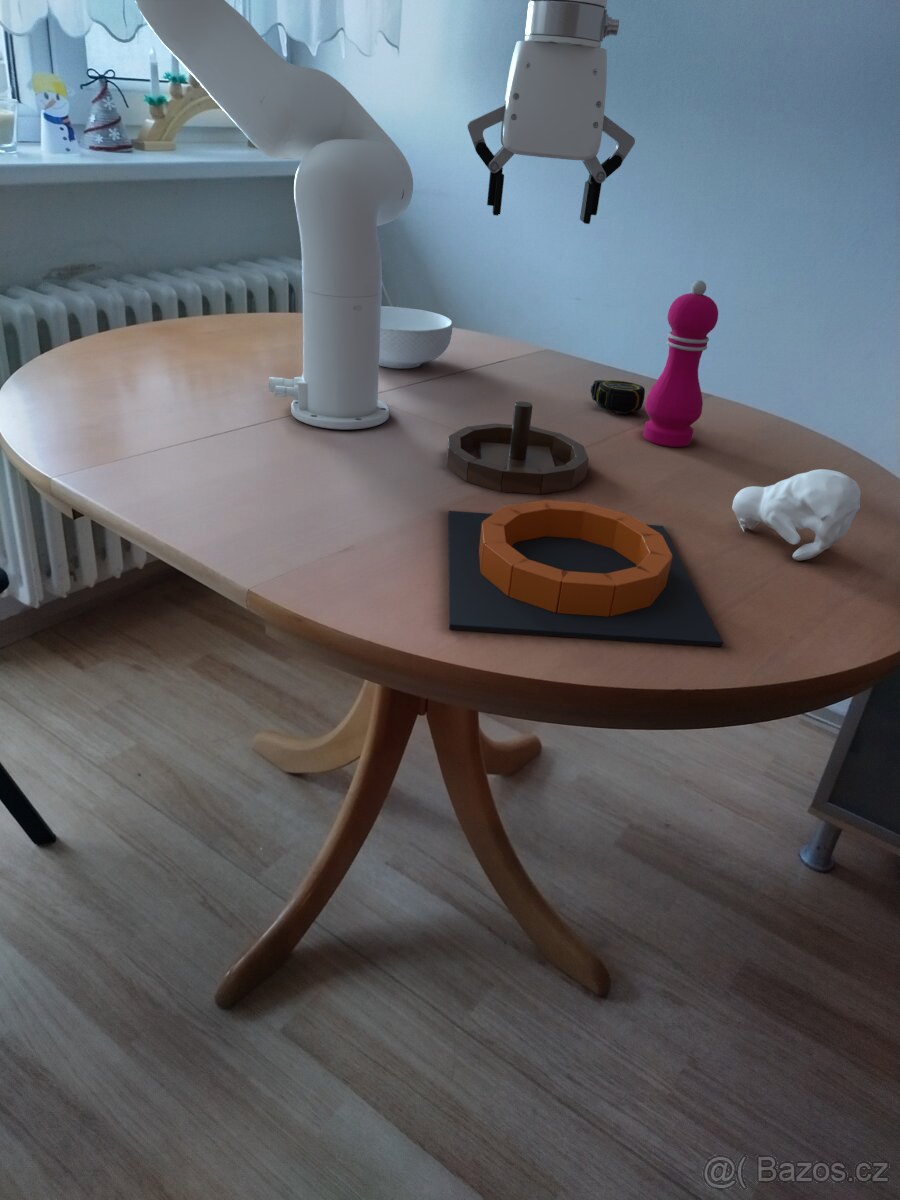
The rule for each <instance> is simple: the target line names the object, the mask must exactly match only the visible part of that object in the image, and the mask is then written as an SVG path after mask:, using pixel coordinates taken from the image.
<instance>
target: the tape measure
mask: <svg viewBox="0 0 900 1200" xmlns="http://www.w3.org/2000/svg"><path fill="white" fill-rule="evenodd" d="M590 394H591V399H592V400H593V402H596V405H597V406H599V408H602V409H604V410H607V411H611V412H615V413H616V414H629V413H634V412H638V411H640V410H641V409H642V408H643V404H644V402H645V395H646V390H645V387H644V386H643V385H641V384H637V383H634V382H629V381H623V380H605V379H604V380H603V379H597V380H596V379H595V380H594V381H593V384H592V385H591V389H590Z"/></svg>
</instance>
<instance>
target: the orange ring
mask: <svg viewBox="0 0 900 1200" xmlns="http://www.w3.org/2000/svg"><path fill="white" fill-rule="evenodd" d="M491 514H492V515H491V516H490V517H488V518H487V519H485V520H484V521H483V522H482V527H481V536H480V545H479V559H480V572H481V574H482V575H483V576H484V577H486V578H487V579H488V580H489V581H490V582H492V583H493V584H494V585H495V586H496V587H497V588H499V589H500V590H501V591H502V592H503V593H505V594H506V595H507V596H510V597H511V598H513V599H516V600H519V601H522V602H525V603H528V604H531V605H534V606H537V607H540V608H543V609H546V610H549V611H551V612H554V613H556V612H557V613H560V614H575V615H590V616H605V617H609V616H615V615H619V614H622V613H626V612H630V611H634V610H638V609H642V608H645V607H649V606H650V605H651V604H652V603H653V602H654V601H655V599H656V598H657V597H658V595H659V594H660V593H661V592H662V590H663V589H664V588H665V586H666V583H667V579H668V574H669V570H670V566H671V562H672V557H673V556H672V554H671V552H670V550H669V548H668V546H667V544H666V542H665V540H664V538H663V536H662V535H661V534H660V533H659V532H657V531H655V530H654V529H652V528H650V527H649V526H647V525H648V524H645V523H644V522H643V521H640V520H639V519H637V518H635V517H633V516H632V515H630V514H627V513H623V512H621V511H620V512H619V511H617V510H613V509H609V508H606V507H603V506H598V505H595V504H591V503H587V502H577V501H576V502H575V501H564V500H563V501H561V500H546V499H542V500H541V499H540V500H534V501H528V502H522V503H516V504H511V505H505V506H502V507H501V508H500V509H498V510H497V511H495V512H494V513H491ZM544 536H546V537H561V538H575V539H582V540H585V541H588V542H592V543H595V544H598V545H602V546H605V547H608V548H612V549H614V550H615V551H617V552H618V553H620V554H621V555H623V556H624V557H626V558H627V559H629V560H630V561H632V562H633V563H635V564H636V566H637V567H633V568H629V569H624V570H620V571H616V572H611V573H607V574H602V573H587V572H572V571H563V570H560V569H557V568H554V567H551V566H548V565H545V564H541V563H538V562H535V561H532V560H529V559H527V558H526V557H525V556H523V555H522V554H521V553H519V552H518V551H517V550H515V549H514V548H513V547H511V546H512V545H513V544H515V543H516V542H519V541H524V540H529V539H534V538H539V537H544Z"/></svg>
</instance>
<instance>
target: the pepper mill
mask: <svg viewBox="0 0 900 1200" xmlns="http://www.w3.org/2000/svg"><path fill="white" fill-rule="evenodd" d="M690 291H691V292H689V293H685V294H682V295H680V296H678V297H677V298H675V300H673V301H672V302H671V304H670V307H669V308H668V312H667V323H668V325H669V326H670V328H671V331H669V332H668V333H667V336H668V338H667V340H666V344H667V346H668V354H667V359H666V362H665V366H664V368H663V370H662V372H661V373H660V375H659V377H658V378H657V380H656V381H655V383H654V384H653V386H652V387H651V388H650V390H649V393H648V394H647V397H646V400H645V404H644V409H645V412H646V414H647V416H648V418H649V420H646V422H645V424H644V428H643V433H642V434H643V438H644V439H645V440H646V441H648V442H650V443H652V444H655V445H658V446H663V447H670V448H683V447H686V446H687V447H688V446H690V444H691V443H692V438H693V434H694V429H693V427H692V425H693V424H694V423H696V422H697V421H698V420H699V419H700V417H701V415H702V413H703V402H704V401H703V395H702V390H701V385H700V380H699V367H700V361H701V358H702V355H703V352H704V351H706V350H707V349H708V342H709V341H710V338H709V336H708V334H709V333H711V331H713V330H714V329H715V327H716V326H717V323H718V320H719V309H718V305H717V304H716V302H715V301H714V299H712V298H711V297H710V296H707V295H706V294H705V293H706V291H707V283H706V282H705V281H704V280H700V279H699V280H695V281H694V282H693V283H692V284H691V287H690Z"/></svg>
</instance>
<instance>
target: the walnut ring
mask: <svg viewBox="0 0 900 1200" xmlns="http://www.w3.org/2000/svg"><path fill="white" fill-rule="evenodd" d="M512 425H513V424H510V423H494V422H493V423H486V424H478V425H470V426H468V425H467V426H465V427H462V428H461V429H459V430H457V431H455V432H453V433H451V434H449V435H448V437H447V450H446V468H447V469H448V470H449V471H450V472H452V473H454V474H455V475H456V476H458V477H459V478H461V479H462V480H464V481H465V482H467V483H470V484H473V485H476V486H480V487H484V488H487V489H491V490H494V491H498V492H502V493H514V494H515V493H517V494H530V495H545V494H549V493H556V492H561V491H567V490H572V489H573V488H575V487H576V486H577V485H579V484H580V482H582V481H583V480H584V479H586V475H587V471H588V464H589V456H588V454H587V451H586V449H585V446H584V445H583V444H581V443H579V442H578V441H576V440H574V439H572V438H570V437H568V436H566V435H564V434H562V433H560V432H557V431H552V430H548V429H544V428H540V427H536V426H532V425H530V431H529V439H528V446H540V447H549V448H550V451H551V454H552V456H554V457H555V458H557V459H559V460H561V461H562V462H564V463H565V464H564V465H558V466H556V465H555V467H550V468H543V469H528V468H514V467H505V466H501V465H497V464H494V463H490V462H486V461H483V460H480V458H476V457H475V456H474V455H471V454H470V453H469V451H471V450H473V449H474V450H475V449H480V442H486V443H500V444H510V442H511V434H512Z"/></svg>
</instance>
